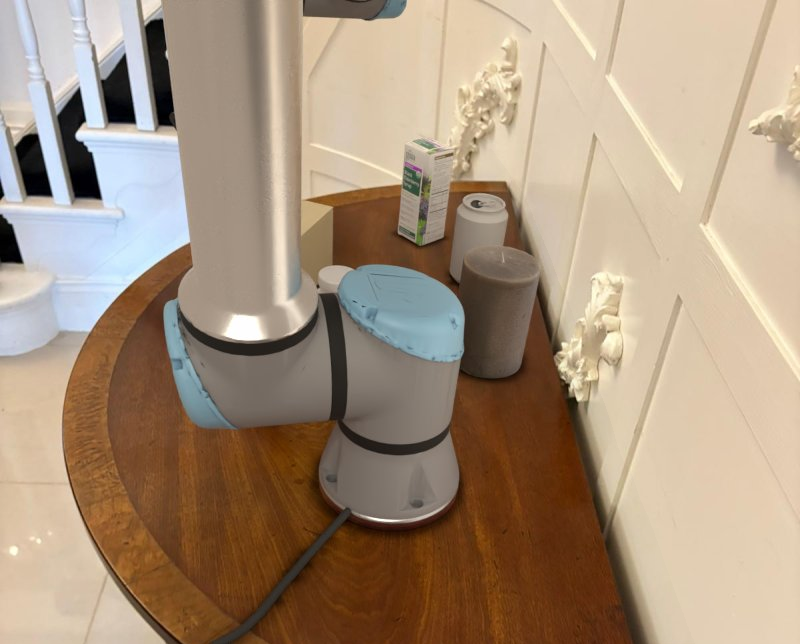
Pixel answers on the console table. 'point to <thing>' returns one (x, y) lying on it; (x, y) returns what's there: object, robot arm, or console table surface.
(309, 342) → the robot arm
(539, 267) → the pillar candle
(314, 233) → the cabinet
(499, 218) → the can
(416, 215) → the syrup box
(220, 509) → the console table surface
